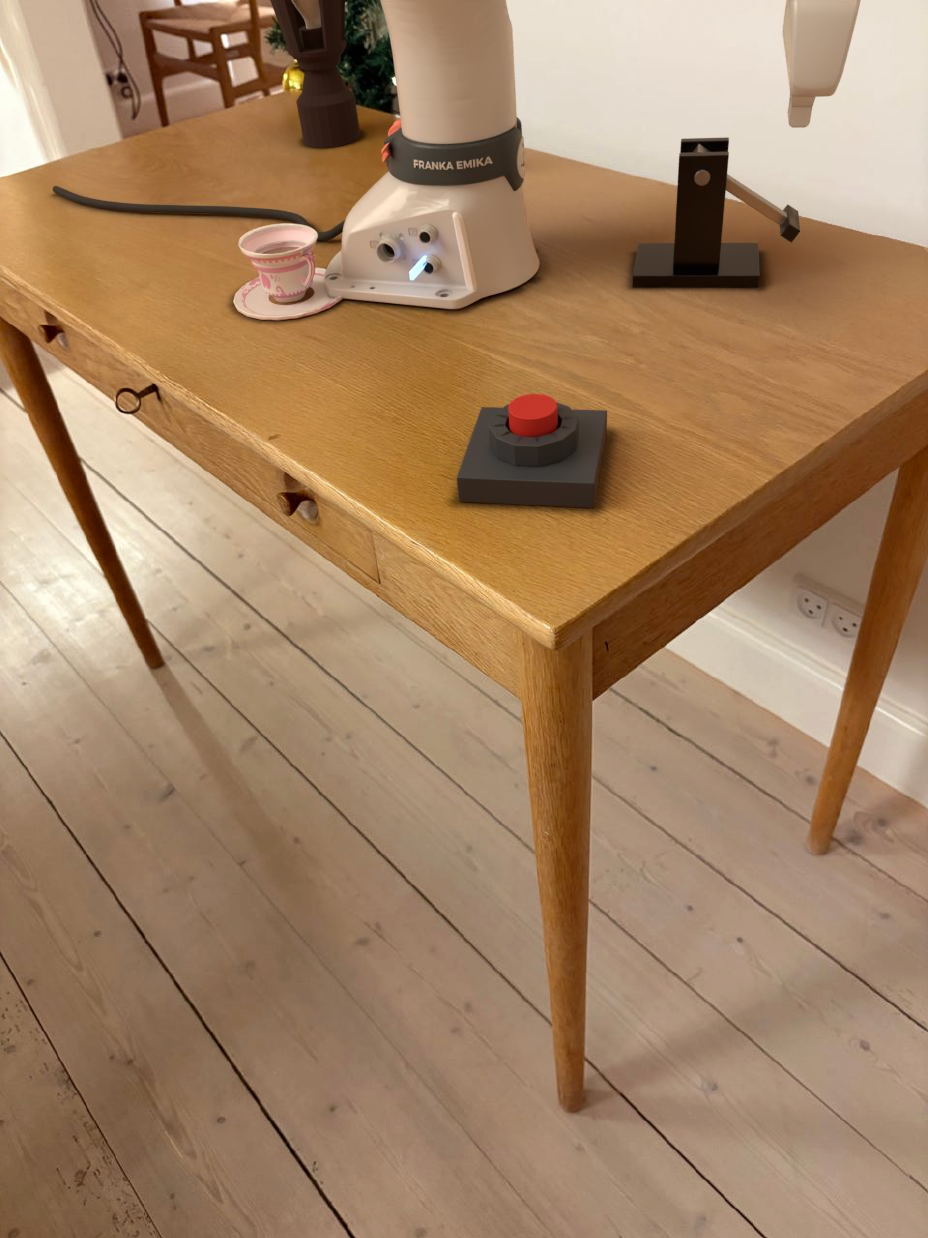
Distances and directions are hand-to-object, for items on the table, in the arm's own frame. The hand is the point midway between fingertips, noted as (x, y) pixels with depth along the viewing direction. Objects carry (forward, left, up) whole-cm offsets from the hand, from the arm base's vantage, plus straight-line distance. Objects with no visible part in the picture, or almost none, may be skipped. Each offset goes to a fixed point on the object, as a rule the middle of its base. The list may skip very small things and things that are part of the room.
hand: (797, 122), depth 90 cm
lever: (-5, 0, -7) cm, 9 cm away
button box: (-19, -36, -14) cm, 43 cm away
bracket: (-8, 0, -14) cm, 16 cm away
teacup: (-49, -6, -14) cm, 51 cm away
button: (-19, -36, -10) cm, 42 cm away
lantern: (-60, +45, -14) cm, 76 cm away
